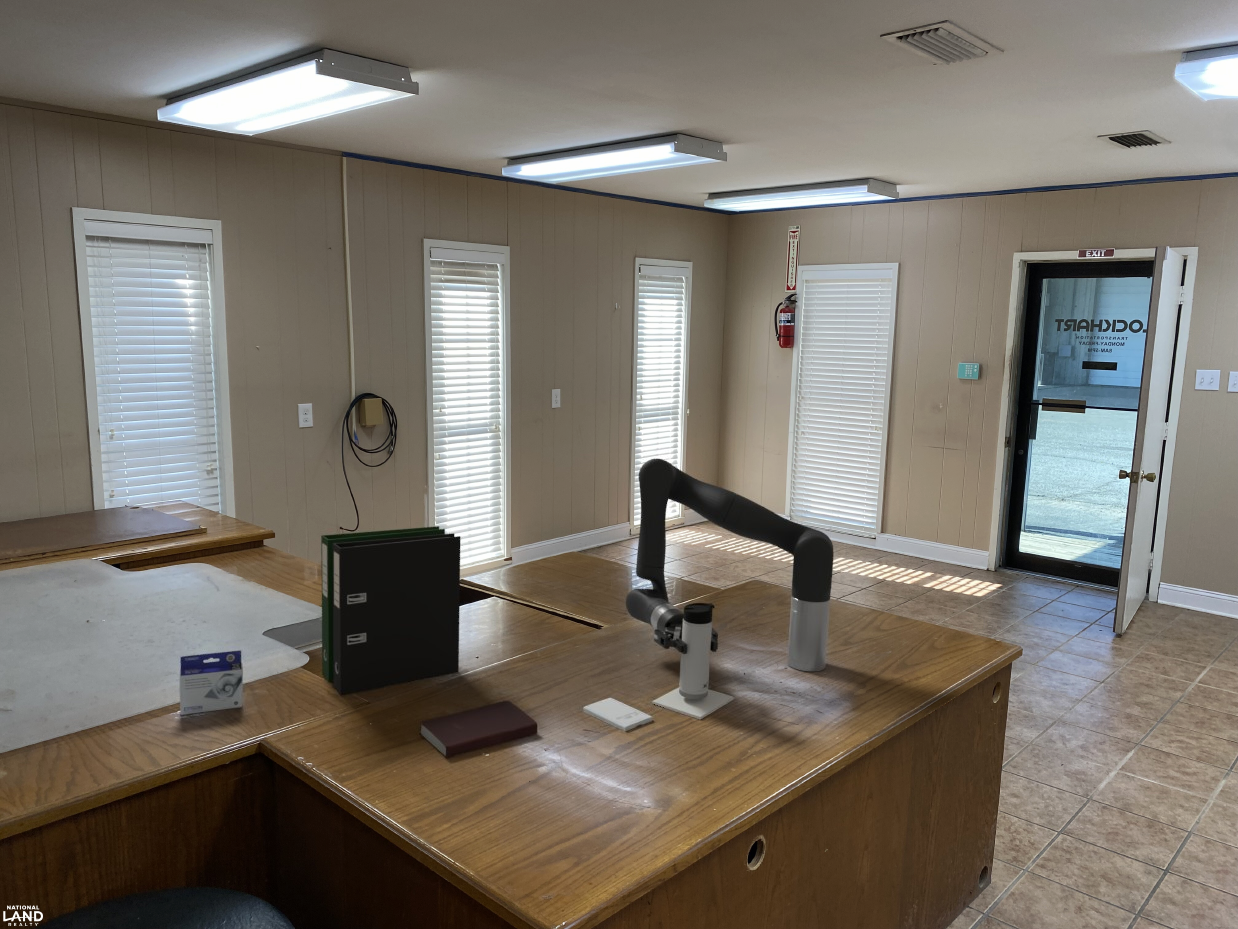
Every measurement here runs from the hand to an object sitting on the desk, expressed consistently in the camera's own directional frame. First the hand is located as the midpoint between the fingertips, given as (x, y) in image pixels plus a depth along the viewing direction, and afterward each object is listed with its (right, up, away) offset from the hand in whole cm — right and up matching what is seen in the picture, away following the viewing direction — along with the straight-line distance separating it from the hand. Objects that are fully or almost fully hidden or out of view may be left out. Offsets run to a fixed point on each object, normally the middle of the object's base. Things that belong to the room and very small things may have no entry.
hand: (700, 648), depth 181 cm
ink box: (-99, -11, -9) cm, 100 cm away
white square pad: (-1, -12, +4) cm, 13 cm away
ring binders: (-69, -9, +13) cm, 71 cm away
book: (-45, -14, -16) cm, 49 cm away
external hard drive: (-18, -14, -5) cm, 23 cm away
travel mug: (-1, -11, +4) cm, 11 cm away
